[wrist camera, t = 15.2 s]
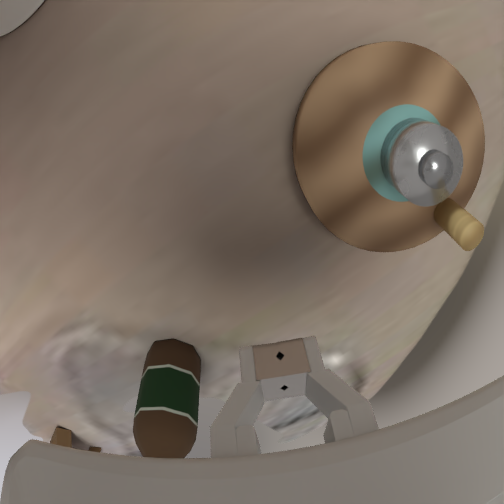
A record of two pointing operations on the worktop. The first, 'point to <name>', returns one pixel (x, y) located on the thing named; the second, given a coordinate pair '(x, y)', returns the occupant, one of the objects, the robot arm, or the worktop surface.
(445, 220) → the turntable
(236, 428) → the robot arm
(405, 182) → the cover
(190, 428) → the beer bottle
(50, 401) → the worktop surface
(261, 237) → the worktop surface
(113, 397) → the worktop surface
